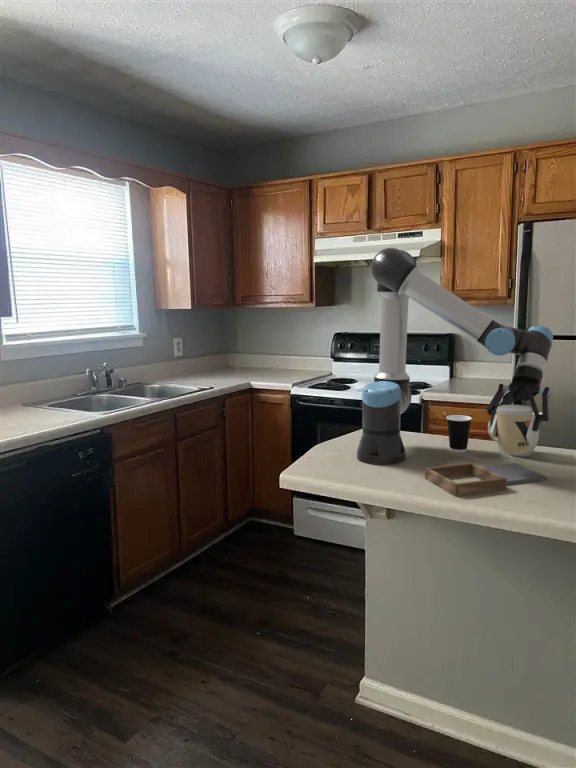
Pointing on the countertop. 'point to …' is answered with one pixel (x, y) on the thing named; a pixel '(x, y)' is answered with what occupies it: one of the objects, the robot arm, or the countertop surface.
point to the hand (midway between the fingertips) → (509, 437)
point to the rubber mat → (516, 473)
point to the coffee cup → (513, 428)
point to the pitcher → (531, 445)
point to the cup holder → (487, 483)
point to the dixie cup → (458, 432)
